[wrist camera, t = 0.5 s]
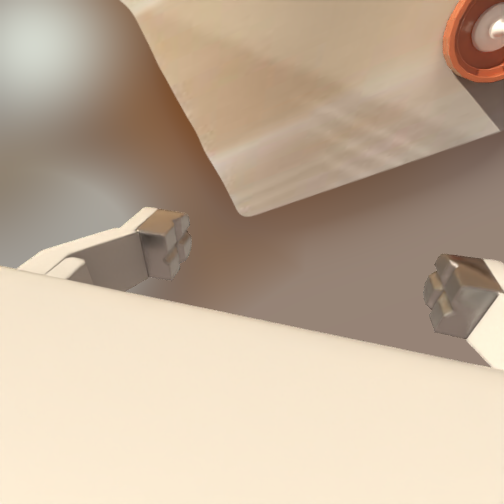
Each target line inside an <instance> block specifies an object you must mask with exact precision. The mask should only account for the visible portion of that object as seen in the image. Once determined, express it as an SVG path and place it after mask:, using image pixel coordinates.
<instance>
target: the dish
mask: <svg viewBox="0 0 504 504" xmlns="http://www.w3.org/2000/svg"><path fill="white" fill-rule="evenodd" d="M501 2H504V0H460V1H459V2H458V4H457V5H456V7H455V9H454V11H453V12H452V14H451V16H450V18H449V19H448V22H447V25H446V29H445V32H444V36H443V55H444V58H445V60H446V63H447V66H448V67H449V68H450V69H451V70H452V71H453V72H454V73H455V74H456V75H457V76H460V77H463V78H465V79H468V80H471V81H473V82H484V83H491V82H496V81H499V80H503V79H504V46H503V47H502V48H500V49H497V50H494V51H491V52H482V51H479V50H477V49H476V48H475V47H474V45H473V43H472V38H471V36H472V30H473V27H474V25H475V23H476V21H477V19H478V18H479V17H480V15H481V14H482V13H483V12H484V11H485V10H487V9H488V8H489V7H491V6H493V5H495V4H497V3H501Z"/></svg>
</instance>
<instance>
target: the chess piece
mask: <svg viewBox="0 0 504 504" xmlns="http://www.w3.org/2000/svg"><path fill="white" fill-rule="evenodd" d="M471 38H472V43H473V45H474V47H475V48H476V49H477V50H479V51H482V52H491V51H494V50H497V49H500V48H502V47H503V46H504V2H501V3H497V4H495V5H493V6H491V7H489V8H488V9H487V10H485V11H484V12H483V13H482V14H481V15H480V17H479V18H478V19H477V21H476V23H475V25H474V27H473V30H472V36H471Z"/></svg>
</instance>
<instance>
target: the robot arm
mask: <svg viewBox="0 0 504 504" xmlns="http://www.w3.org/2000/svg"><path fill="white" fill-rule="evenodd" d="M189 226H190V222H189V216H188V215H187V214H186V213H181V212H175V211H169V210H164V209H159V208H152V207H144V208H143V209H142V210H141V211H140V212H138V213H137V214H136V215H135V216H134V217H133V218H131V219H130V220H129V221H128V222H127V223H125V224H124V225H123V226H122V227H121V228H113V229H110V230H107V231H104V232H100V233H97V234H94V235H90V236H87V237H84V238H81V239H77V240H74V241H71V242H68V243H64V244H61V245H58V246H54V247H51V248H48V249H45V250H42V251H40V252H39V253H38V254H36V255H35V256H34V257H33V258H31V259H29V260H28V261H27V262H25V263H24V264H22V265H21V266H20V267H18V268H17V269H13V268H9V267H4V266H0V504H504V264H503V263H502V262H500V261H498V260H489V259H481V258H473V257H465V256H457V255H449V254H441V255H440V256H439V257H438V259H437V261H436V263H435V267H436V269H437V271H436V272H434V273H432V274H431V275H429V276H428V278H427V281H426V283H425V286H424V292H423V293H424V300H425V304H426V305H427V306H428V307H429V308H430V309H431V310H432V311H431V313H430V314H429V316H430V319H431V322H432V325H433V328H434V331H435V332H437V333H441V334H446V335H450V336H455V337H459V338H464V339H466V341H467V342H468V343H469V344H470V345H471V346H472V347H473V348H474V349H475V350H476V351H477V353H478V354H479V355H480V356H481V357H482V358H483V359H484V360H485V361H486V362H487V363H488V364H489V365H490V366H491V367H492V368H490V367H485V366H480V365H476V364H471V363H466V362H461V361H456V360H451V359H447V358H442V357H437V356H432V355H428V354H422V353H418V352H413V351H408V350H404V349H399V348H393V347H389V346H384V345H379V344H375V343H370V342H365V341H360V340H355V339H350V338H346V337H341V336H336V335H331V334H326V333H322V332H317V331H312V330H307V329H302V328H298V327H293V326H288V325H283V324H278V323H274V322H269V321H264V320H259V319H254V318H249V317H245V316H240V315H235V314H230V313H225V312H221V311H216V310H211V309H206V308H201V307H196V306H191V305H187V304H182V303H177V302H172V301H168V300H162V299H158V298H153V297H148V296H144V295H139V294H134V293H129V292H125V291H127V290H129V289H130V288H132V287H134V286H136V285H137V284H139V283H141V282H142V281H144V280H146V279H148V277H153V278H159V279H165V280H173V278H174V277H175V275H176V274H177V272H178V271H179V269H180V263H182V262H184V261H186V259H187V258H188V256H189V253H190V250H191V244H192V241H191V235H190V234H189V233H188V231H187V228H188V227H189Z"/></svg>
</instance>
